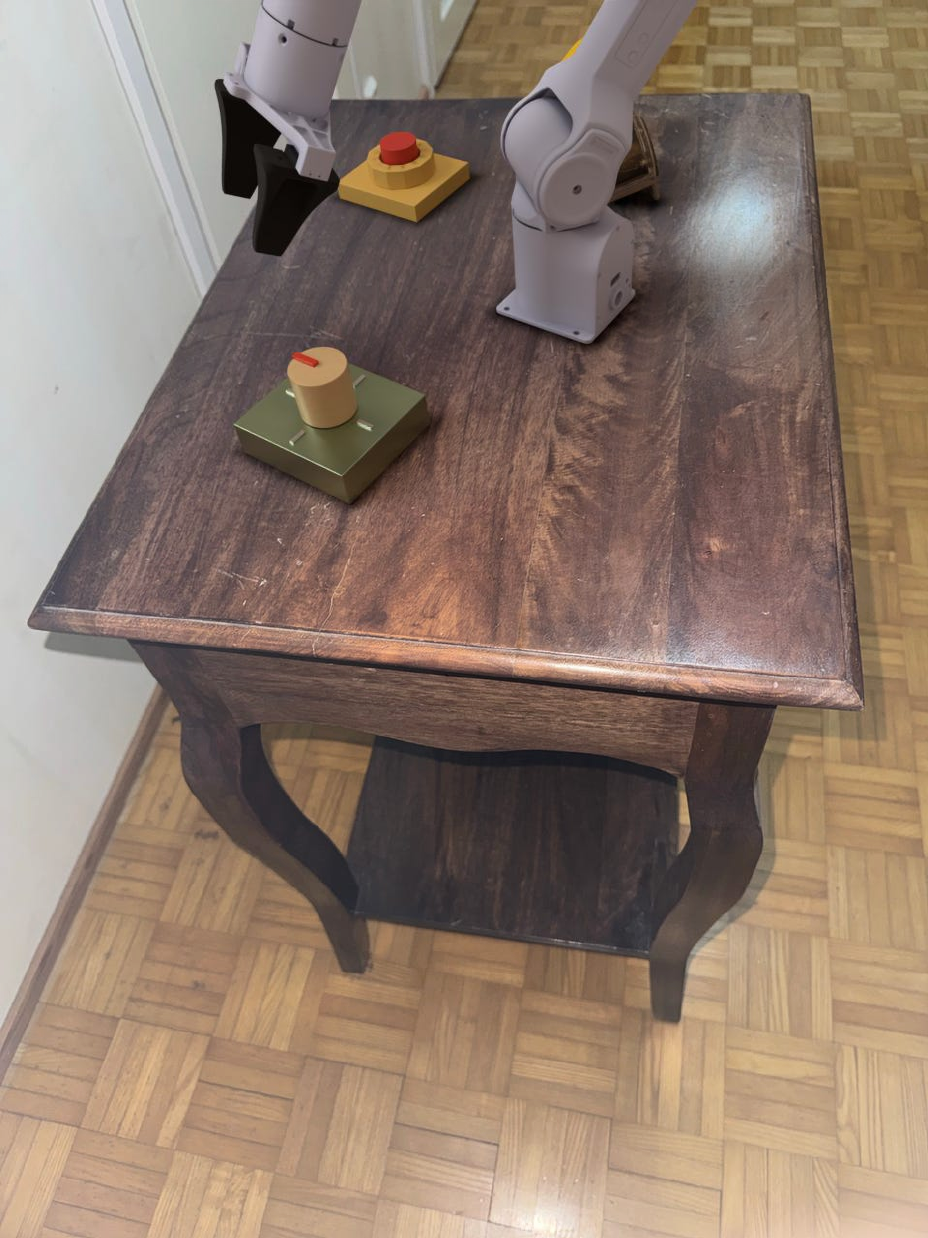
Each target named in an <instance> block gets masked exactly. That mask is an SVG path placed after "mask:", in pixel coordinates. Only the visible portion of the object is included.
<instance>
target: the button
mask: <svg viewBox="0 0 928 1238" xmlns="http://www.w3.org/2000/svg"><path fill="white" fill-rule="evenodd" d="M416 139H417V137H416V136H415V135H414V134H413V133H411V132H407V131H396V132H392V133H389V134H387V135H385V136H383V137H382V138H381V139H380V141H379V144H380V150H381V156H382V161H383V163H384V164H387V165H390V166H395V165H405V164H408V163H411V162H413V161H414V160H416V159H417V158H418V150H417V143H416Z"/></svg>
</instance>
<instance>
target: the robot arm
mask: <svg viewBox="0 0 928 1238" xmlns="http://www.w3.org/2000/svg"><path fill="white" fill-rule="evenodd" d="M362 1H363V0H261V1H260V6H259V10H258V14H257V19H256V21H255V22H256V23H255V27H254V31H253V35H252V39H251V43H248V42H244V41H240V42H239V45H238V49H237V54H236V58H235V62H234V68H233V70H234V71H235V73H234V72H230V71H227V72H225V73H224V77H223V78H217V79H215V81H214V85H213V86H214V91H215V95H216V100H217V105H218V111H219V117H220V124H221V191H222V192H223V194H224V195H227V196H233V197H236V198H237V197H238V198H242V199H246V200H251V199H252V197H253V195H254V194H255V192H256V190H257V199H256V206H255V207H256V208H255V213H254V220H253V226H252V235H251V236H252V237H251V238H252V239H251V240H252V243H251V244H252V249H253V251H254V252H255V253H257V254H263V255H269V256H275V257H279V258H281V257H282V256H283V255H284V254H285V252H286V250H287V249H288V248H289V246H290V244H291V243H292V241H293V240H294V238H295V237H296V235H297V234H298V232H299V231H300V229H301V227H302V226H303V224H304V223H305V222H306V221H307V219H308V217H309V216H310V215H311V214H312V213H313V212H314V211H315V210H316V209H317V207H319V206H320V204H322V203H323V202H324V201H325V200H326V199H328V198H329V197H330V196H332V195H333V194H334V193H335V192H337V191H338V187H339V184H340V180H341V179H340V177H339V175H338V174H337V172H336V170H335V169H334V168H333V166H334V163H335V160H336V157H337V151H336V150H335V148H334V146H333V144H332V131H331V129H332V128H331V127H332V125H331V111H330V106H331V103H332V99H333V96H334V93H335V89H336V86H337V83H338V80H339V76H340V73H341V71H342V67H343V64H344V60H345V57H346V53H347V50H348V47H349V43H350V41H351V37H352V35H353V30H354V27H355V24H356V21H357V17H358V14H359V11H360V9H361V8H360V7H361V5H362ZM699 1H700V0H604V1H603V3H602V5H601V6H600V8H599V10H598V11H597V13H596V15H595V16H594V18H593V20H592V21H591V24H590V25H589V27H588V29H587V30H586V32H585V34H584V36H583V37H582V38H583V39H582V38H581V39H582V41H581V42H580V44H579V46H578V48H577V49H576V51H575V53H574V54H573V55H572V56H571V57H569V58H568V59H566V60H564V61H562V60H561V61H562V62H561V61H560V62H557V63H555V64H553V65H551V66H550V67H548V68H547V69H546V70H545V71H544V72H543V75H542V77H541V78H540V80H539V81H538V83H537V84H536V86H535V87H534V89H533V90H532V91H531V92H529V94H528V95H526V96H525V97H523V98H522V99H521V100H519V101H518V102H517V103H516V104H515V105H514V106H513V107H512V108H511V110H510V111H509V112H508V113H507V116H506V118H505V119H504V122H503V124H502V126H501V131H500V141H499V143H500V150H501V155H502V156H503V158H504V160H505V162H506V163H507V165H508V166H509V167H510V168H511V169H512V170H513V172H515V185H514V189H513V192H512V195H511V199H510V204H511V223H512V240H513V241H512V242H513V243H512V245H513V258H514V259H513V261H514V262H513V263H514V274H515V275H514V276H515V277H514V279H515V288H514V289H513V290H512V291H511V292H510V293H509V294H508V295H507V296H506V297H505V298H504V299H503V300H502V301H501V302H499V303H498V304H497V306H496V313H497V314H499V315H502V316H505V317H507V318H510V319H512V320H515V321H519V322H521V323H524V324H527V325H530V326H533V327H536V328H539V329H541V330H544V331H547V332H550V333H552V334H555V335H559V336H561V337H564V338H568V339H571V340H573V341H575V342H578V343H582V344H585V345H589V344H592V343H593V342H594V341H595V339H597V338H598V337H599V335H601V333H602V332H603V331H604V330H605V329H606V328H607V327H608V325H610V323H611V322H612V321H613V320H614V319H615V318H617V316H618V315H619V314H620V313H621V312H622V310H623V309H624V308H625V307H626V306H627V305H628V304H629V303H630V302H631V301H632V300H633V298H635V296H636V289H634V288H632V287H633V273H634V272H633V270H634V254H635V239H636V238H635V237H636V236H635V228H634V225H633V223H632V221H631V220H629V219H627V218H626V217H623V216H621V215H620V214H618V213H617V212H615V211H613V209H612V208H610V207H609V206H608V204H609V203H608V202H609V200H610V198H611V196H612V194H613V191H614V188H615V183H616V178H617V173H618V171H619V168H620V165H621V164H622V162H623V160H624V158H625V157H626V155H627V154H628V152H629V151H630V149H631V146H632V129H633V113H634V105H635V104H634V103H635V102H636V100H637V98H638V97H639V96H640V94H641V92H642V91H643V89H644V88H645V86H646V84H647V83H648V81H649V80H650V78H651V77H652V75H653V74H654V73H655V70H656V69H657V67H658V66H659V64H660V62H661V61H662V59H663V58H664V56H666V55H665V54H666V53H667V52H668V50H669V48H670V47H671V45H672V44H673V42H674V41H675V40H676V37H677V36H678V34H679V33H680V31H681V30H682V28H683V27H684V25H685V23H686V22H687V20H688V18H689V17H690V16H691V14H692V13H693V10H694V9H696V6H697V5H698V3H699ZM281 136H282V137H283V138H284V140H285V141H286V144H285V148H284V150H283V149H280V148H276V147H275V145H276V144H277V143H278V141H279V138H280V137H281Z"/></svg>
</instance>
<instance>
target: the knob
mask: <svg viewBox="0 0 928 1238" xmlns="http://www.w3.org/2000/svg"><path fill="white" fill-rule="evenodd" d="M291 358H292V359H291V360H290V362H289V363H288V366H287V370H286V371H287V377H289V380H290V383H291V386H292V389H293V393H294V396H295V399H296V402H297V405H298V409H299V412H300V415H301V418H302V419H303V421H304V422H305V423H307V424H308V425H310V426H313V427H316V428H331V427H335V426H338V425H341V424H343V423H345V422H346V421H348V420H349V419H350V418H351V417H352V416H353V415H354V414H355V412H356V409H357V399H356V395H355V391H354V387H353V383H352V379H351V375H350V370H349V366H348V363H349V362H348V359H347V357H346V355H345V354H344V353H343V352H342V351H340V350H339V349H337V348H334V347H331V346H330V347H329V346H317V347H311V348H309V349H306V350H303V351H301V352H299V351H295V352H294V353H293V354H292V355H291Z"/></svg>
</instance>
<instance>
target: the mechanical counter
mask: <svg viewBox="0 0 928 1238" xmlns="http://www.w3.org/2000/svg"><path fill="white" fill-rule="evenodd" d="M659 173H660V170H659V166H658V160H657V155H656V151H655V148H654V144H653V142H652V139H651V136H650V133H649V129H648V126H647V124H646V122H645V120H644V118H643V117H642V116H641V115H640V114H638V113H634V114H633V129H632V146H631V149H630V151H629V152H628V154H627V155H626V157H625V158H624V160H623V162H622V164H621V165H620V168H619V171H618V173H617V178H616V183H615V188H614V191H613V194H612V196H611V198H610V200H609V202H608V204H611V203H615V202H617V201H619V200H622V199H624V198H626V197H628V196H630V195H631V196H632V195H633V194H635V193H638V192H641V191H643V190H645V189H649V192H650V194H651V197H652V198H653V200H654V201H659V199H660V197H661V196H660V195H661V194H660V188H659V182H658V176H659Z"/></svg>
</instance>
